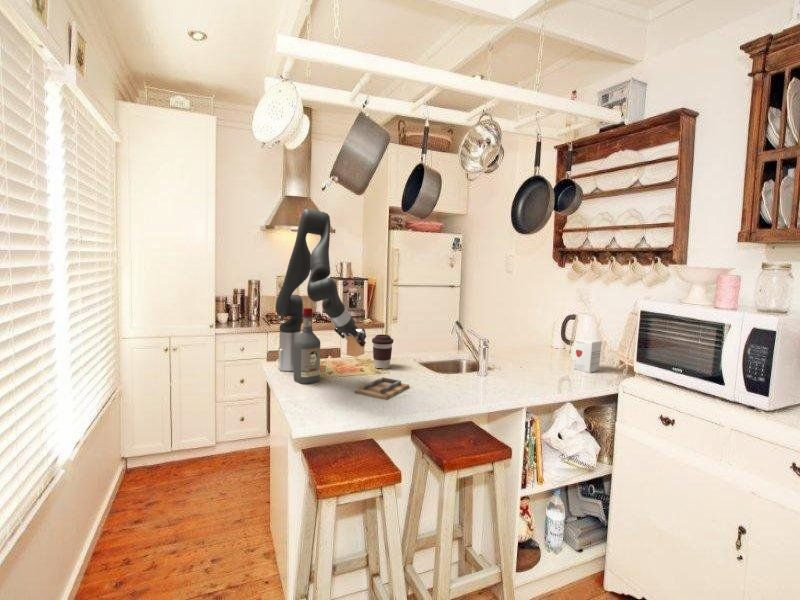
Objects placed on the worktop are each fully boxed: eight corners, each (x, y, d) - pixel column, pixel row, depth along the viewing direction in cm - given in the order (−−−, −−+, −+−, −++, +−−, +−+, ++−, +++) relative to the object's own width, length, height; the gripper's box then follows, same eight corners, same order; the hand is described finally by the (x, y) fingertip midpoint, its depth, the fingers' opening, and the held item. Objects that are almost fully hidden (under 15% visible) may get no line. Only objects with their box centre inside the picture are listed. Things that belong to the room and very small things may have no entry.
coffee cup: (372, 363, 212) (373, 333, 211) (392, 365, 212) (394, 334, 210) (370, 369, 203) (371, 337, 201) (391, 370, 202) (392, 338, 200)
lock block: (355, 356, 177) (356, 332, 176) (346, 355, 179) (347, 330, 178) (364, 354, 182) (365, 330, 181) (355, 352, 184) (356, 328, 183)
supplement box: (572, 368, 219) (574, 338, 217) (582, 366, 224) (584, 337, 222) (589, 373, 211) (592, 342, 210) (599, 370, 217) (602, 340, 215)
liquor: (291, 379, 183) (291, 307, 179) (309, 375, 189) (311, 306, 186) (303, 385, 177) (304, 310, 173) (322, 381, 183) (323, 309, 180)
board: (385, 399, 164) (386, 392, 163) (354, 392, 170) (354, 385, 170) (409, 387, 179) (409, 381, 179) (379, 381, 186) (379, 374, 186)
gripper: (360, 312, 168) (377, 339, 180) (331, 308, 175) (348, 334, 187) (352, 328, 164) (369, 354, 176) (322, 323, 171) (340, 349, 183)
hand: (358, 343), depth 182 cm, fingers closed on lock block, 4 cm apart
